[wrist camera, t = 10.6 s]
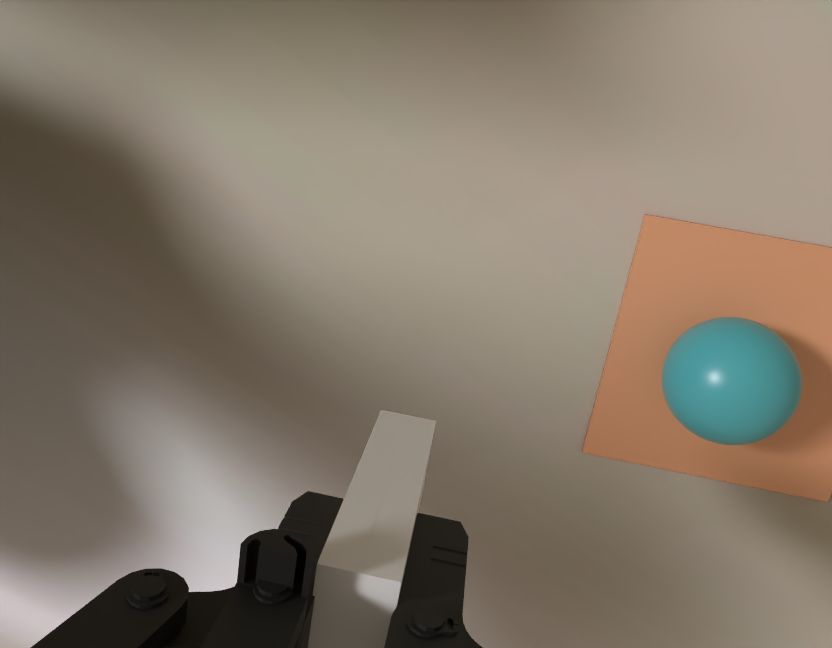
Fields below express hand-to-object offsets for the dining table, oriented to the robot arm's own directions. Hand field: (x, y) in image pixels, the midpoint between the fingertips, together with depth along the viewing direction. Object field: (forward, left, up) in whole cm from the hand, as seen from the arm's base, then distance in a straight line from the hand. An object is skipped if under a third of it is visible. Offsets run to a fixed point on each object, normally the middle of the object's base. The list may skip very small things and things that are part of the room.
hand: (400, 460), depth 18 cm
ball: (+11, -6, -13) cm, 18 cm away
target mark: (+12, -7, -15) cm, 21 cm away
